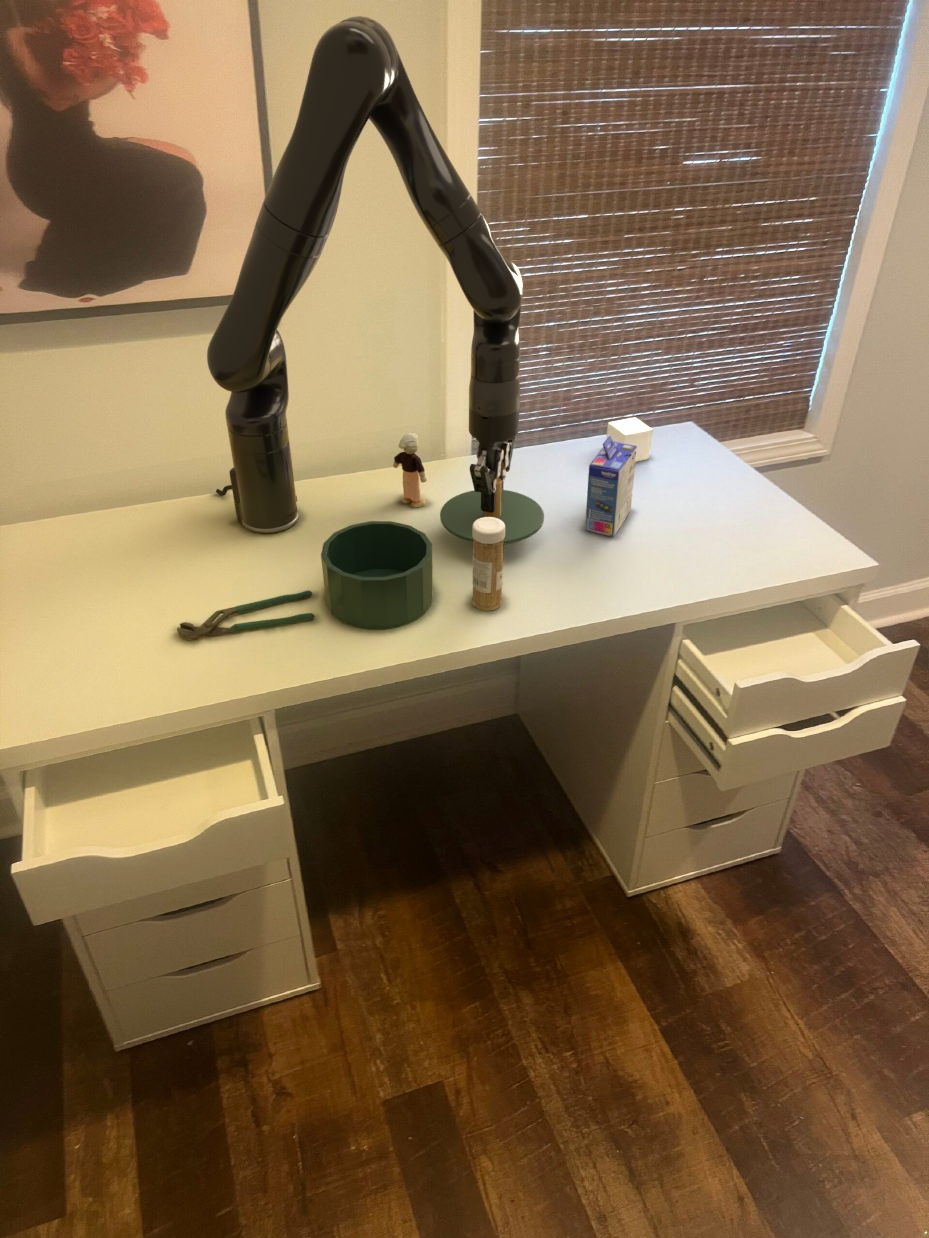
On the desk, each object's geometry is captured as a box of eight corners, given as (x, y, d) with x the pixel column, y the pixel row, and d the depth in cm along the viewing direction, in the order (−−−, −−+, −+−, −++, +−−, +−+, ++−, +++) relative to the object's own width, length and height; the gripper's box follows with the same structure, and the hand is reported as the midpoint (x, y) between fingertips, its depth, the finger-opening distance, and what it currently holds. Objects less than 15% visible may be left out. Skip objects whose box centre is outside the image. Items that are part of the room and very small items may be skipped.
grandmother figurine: (436, 502, 157) (435, 434, 149) (423, 511, 154) (421, 443, 146) (399, 490, 160) (397, 423, 152) (387, 499, 157) (383, 432, 150)
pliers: (312, 595, 134) (311, 588, 134) (321, 619, 129) (320, 612, 129) (175, 620, 129) (174, 612, 128) (180, 646, 124) (178, 638, 123)
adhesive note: (621, 465, 168) (625, 435, 165) (604, 451, 173) (607, 422, 169) (648, 459, 170) (653, 429, 167) (631, 446, 175) (635, 416, 171)
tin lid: (423, 534, 142) (422, 494, 137) (464, 487, 154) (464, 449, 150) (523, 557, 137) (525, 515, 132) (557, 506, 149) (560, 467, 145)
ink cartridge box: (600, 503, 157) (608, 426, 148) (631, 510, 155) (641, 432, 146) (581, 530, 149) (589, 450, 141) (614, 538, 148) (623, 457, 139)
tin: (307, 614, 130) (301, 565, 125) (357, 559, 142) (354, 512, 137) (404, 640, 126) (402, 590, 121) (449, 582, 137) (449, 534, 132)
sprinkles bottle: (508, 605, 132) (512, 526, 124) (482, 615, 130) (484, 535, 122) (490, 590, 135) (493, 512, 127) (465, 600, 133) (466, 521, 125)
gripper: (487, 382, 140) (486, 482, 150) (452, 417, 129) (452, 522, 140) (533, 390, 137) (528, 490, 148) (501, 426, 127) (498, 532, 137)
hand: (491, 505), depth 144 cm, fingers closed on tin lid, 3 cm apart
